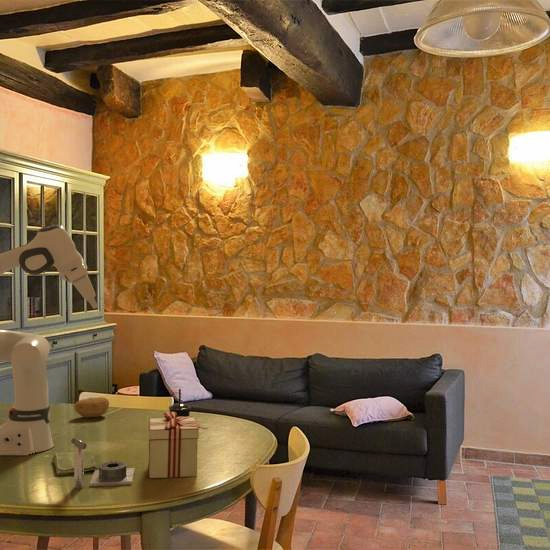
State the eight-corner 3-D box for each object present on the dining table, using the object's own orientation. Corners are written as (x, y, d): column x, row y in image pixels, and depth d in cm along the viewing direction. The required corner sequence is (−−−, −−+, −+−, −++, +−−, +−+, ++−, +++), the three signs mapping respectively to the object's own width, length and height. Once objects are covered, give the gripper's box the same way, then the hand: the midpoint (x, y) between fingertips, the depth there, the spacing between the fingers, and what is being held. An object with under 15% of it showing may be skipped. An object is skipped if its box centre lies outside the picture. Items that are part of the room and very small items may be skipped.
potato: (73, 416, 272) (72, 397, 272) (107, 413, 278) (107, 394, 278) (75, 421, 264) (75, 402, 263) (111, 418, 269) (111, 399, 269)
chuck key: (88, 489, 188) (87, 442, 187) (79, 491, 186) (79, 443, 186) (78, 482, 193) (78, 436, 193) (70, 484, 192) (69, 438, 191)
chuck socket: (89, 486, 190) (89, 472, 190) (95, 472, 202) (94, 460, 202) (131, 484, 192) (131, 471, 192) (134, 471, 204) (134, 458, 204)
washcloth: (56, 478, 198) (56, 468, 198) (51, 461, 214) (51, 451, 214) (100, 472, 203) (100, 462, 203) (92, 456, 220) (92, 447, 220)
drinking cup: (194, 443, 233) (194, 387, 233) (183, 449, 226) (183, 392, 226) (176, 441, 237) (176, 386, 236) (164, 446, 230) (164, 390, 229)
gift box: (210, 475, 200) (210, 419, 200) (149, 481, 195) (149, 424, 194) (201, 458, 216) (201, 407, 216) (144, 463, 211) (144, 410, 211)
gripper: (60, 268, 224) (79, 302, 229) (68, 279, 206) (89, 316, 210) (76, 259, 226) (96, 293, 230) (86, 269, 207) (107, 306, 212)
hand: (93, 304), depth 220 cm, fingers open, 8 cm apart
